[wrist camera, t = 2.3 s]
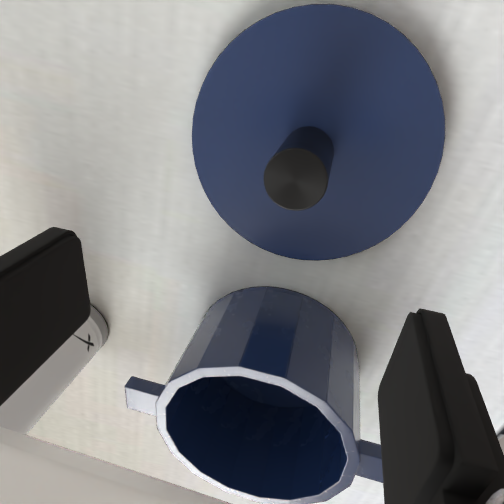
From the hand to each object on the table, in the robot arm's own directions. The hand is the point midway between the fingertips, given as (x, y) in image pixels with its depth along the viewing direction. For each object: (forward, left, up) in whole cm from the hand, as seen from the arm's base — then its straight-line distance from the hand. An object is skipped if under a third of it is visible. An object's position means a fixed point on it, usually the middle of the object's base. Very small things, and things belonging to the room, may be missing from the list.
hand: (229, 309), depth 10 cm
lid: (-1, 0, -15) cm, 15 cm away
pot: (+16, 0, -15) cm, 22 cm away
